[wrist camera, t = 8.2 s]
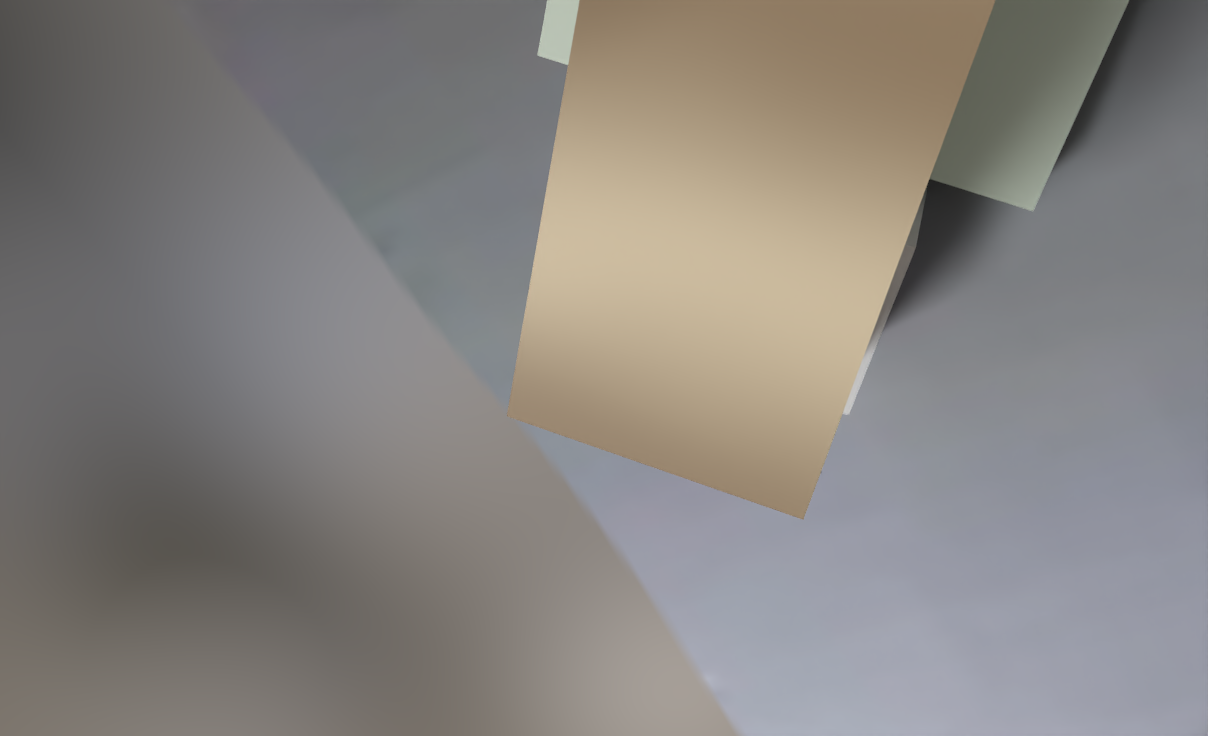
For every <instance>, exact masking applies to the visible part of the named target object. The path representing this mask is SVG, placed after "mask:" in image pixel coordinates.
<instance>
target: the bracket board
mask: <svg viewBox="0 0 1208 736" xmlns="http://www.w3.org/2000/svg"><path fill="white" fill-rule="evenodd" d="M579 1H580V0H547V5H546V11H545V16H544V22H543V28H542V33H541V39H540V44H539V50H538V56H541V57H544V58H547V59H550V60H554V61H557V62H560V63H563V64H566V65H568V63H569V58H570V52H571V46H572V41H573V35H574V29H575V23H576V18H577V12H578V6H579ZM1128 2H1129V0H995V3H994V6H993V8H992V11H991V14H990V17H989V19H988V22H987V25H986V27H985V30H984V33H983V35H982V38H981V41H980V44H979V46H978V49H977V52H976V54H975V57H974V60H973V62H972V65H971V68H970V71H969V73H968V76H967V79H966V81H965V84H964V87H963V89H962V92H961V95H960V98H959V100H958V103H957V106H956V108H955V111H954V114H953V116H952V119H951V122H950V125H949V127H948V130H947V133H946V135H945V138H944V141H943V143H942V146H941V149H940V152H939V154H938V157H937V160H936V162H935V165H934V168H933V170H932V173H931V176H930V179H932V180H935V181H938V182H941V183H944V184H948V185H951V186H954V187H957V188H960V189H963V190H967V191H970V192H973V193H976V194H979V195H983V196H986V197H989V198H992V199H995V200H998V201H1002V202H1005V203H1008V204H1011V205H1014V206H1017V207H1021V208H1024V209H1027V210H1030V211H1033V210H1034V208H1035V206H1036V204H1037V202H1038V199H1039V197H1040V195H1041V193H1042V191H1043V188H1044V186H1045V184H1046V182H1047V180H1048V178H1049V175H1050V173H1051V171H1052V169H1053V167H1054V164H1055V162H1056V160H1057V158H1058V156H1059V153H1060V151H1061V149H1062V147H1063V145H1064V142H1065V140H1066V138H1067V136H1068V134H1069V131H1070V129H1071V127H1072V125H1073V123H1074V121H1075V118H1076V116H1077V114H1078V112H1079V110H1080V107H1081V105H1082V103H1083V101H1084V99H1085V96H1086V94H1087V92H1088V90H1089V88H1090V85H1091V83H1092V81H1093V79H1094V77H1095V74H1096V72H1097V70H1098V68H1099V66H1100V64H1101V61H1102V59H1103V57H1104V55H1105V53H1106V50H1107V48H1108V46H1109V44H1110V42H1111V39H1112V37H1113V35H1114V33H1115V31H1116V28H1117V26H1118V24H1119V22H1120V20H1121V17H1122V15H1123V13H1124V11H1125V9H1126V7H1127V4H1128ZM926 193H927V187H926V189H925V192H924V195H923V197H922V200H921V203H920V206H919V208H918V211H917V214H916V216H915V219H914V222H913V224H912V227H911V230H910V233H909V235H908V238H907V241H906V243H905V246H904V249H903V251H902V254H901V257H900V260H899V262H898V265H897V268H896V270H895V273H894V276H893V278H892V281H891V284H890V287H889V289H888V292H887V295H886V297H885V300H884V303H883V305H882V308H881V311H880V314H879V316H878V319H877V322H876V324H875V327H874V330H873V332H872V335H871V338H870V341H869V343H868V346H867V349H866V351H865V354H864V357H863V359H862V362H861V365H860V368H859V370H858V373H857V376H856V378H855V381H854V384H853V386H852V389H851V392H850V395H849V397H848V400H847V403H846V405H845V408H844V411H843V413H844V414H847V415H849V413H850V410H851V408H852V405H853V403H854V400H855V398H856V396H857V393H858V391H859V388H860V386H861V383H862V381H863V378H864V376H865V373H866V371H867V368H868V366H869V363H870V361H871V358H872V356H873V353H874V351H875V348H876V346H877V343H878V341H879V338H880V336H881V333H882V331H883V328H884V326H885V323H886V321H887V318H888V316H889V313H890V311H891V308H892V306H893V303H894V301H895V298H896V296H897V293H898V291H899V289H900V286H901V284H902V281H903V279H904V276H905V274H906V271H907V269H908V266H909V264H910V261H911V259H912V256H913V254H914V251H915V249H916V245H917V239H918V234H919V229H920V224H921V219H922V214H923V208H924V203H925V198H926Z"/></svg>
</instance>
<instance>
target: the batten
mask: <svg viewBox="0 0 1208 736" xmlns="http://www.w3.org/2000/svg"><path fill="white" fill-rule="evenodd" d="M994 3H995V0H580V1H579V6H578V12H577V18H576V23H575V29H574V35H573V41H572V46H571V52H570V58H569V63H568V69H567V75H566V81H565V86H564V92H563V98H562V104H561V109H560V115H559V121H558V126H557V132H556V138H555V144H554V149H553V155H552V161H551V166H550V172H549V178H548V184H547V189H546V195H545V201H544V206H543V212H542V218H541V224H540V229H539V235H538V241H537V247H536V252H535V258H534V264H533V269H532V275H531V281H530V287H529V292H528V298H527V304H526V309H525V315H524V321H523V327H522V332H521V338H520V344H519V349H518V355H517V361H516V367H515V372H514V378H513V384H512V390H511V395H510V401H509V407H508V412H507V416H508V417H511V418H513V419H516V420H519V421H522V422H525V423H528V424H531V425H534V426H536V427H539V428H542V429H545V430H548V431H551V432H554V433H556V434H559V435H562V436H565V437H568V438H571V439H574V440H577V441H579V442H582V443H585V444H588V445H591V446H594V447H597V448H599V449H602V450H605V451H608V452H611V453H614V454H617V455H620V456H622V457H625V458H628V459H631V460H634V461H637V462H640V463H643V464H645V465H648V466H651V467H654V468H657V469H660V470H663V471H665V472H668V473H671V474H674V475H677V476H680V477H683V478H686V479H688V480H691V481H694V482H697V483H700V484H703V485H706V486H708V487H711V488H714V489H717V490H720V491H723V492H726V493H729V494H731V495H734V496H737V497H740V498H743V499H746V500H749V501H752V502H754V503H757V504H760V505H763V506H766V507H769V508H772V509H774V510H777V511H780V512H783V513H786V514H789V515H792V516H795V517H797V518H800V519H804V516H805V513H806V511H807V508H808V505H809V503H810V500H811V497H812V494H813V492H814V489H815V486H816V484H817V481H818V478H819V476H820V473H821V470H822V467H823V465H824V462H825V459H826V457H827V454H828V451H829V449H830V446H831V443H832V440H833V438H834V435H835V432H836V430H837V427H838V424H839V422H840V419H841V416H842V413H843V411H844V408H845V405H846V403H847V400H848V397H849V395H850V392H851V389H852V386H853V384H854V381H855V378H856V376H857V373H858V370H859V368H860V365H861V362H862V359H863V357H864V354H865V351H866V349H867V346H868V343H869V341H870V338H871V335H872V332H873V330H874V327H875V324H876V322H877V319H878V316H879V314H880V311H881V308H882V305H883V303H884V300H885V297H886V295H887V292H888V289H889V287H890V284H891V281H892V278H893V276H894V273H895V270H896V268H897V265H898V262H899V260H900V257H901V254H902V251H903V249H904V246H905V243H906V241H907V238H908V235H909V233H910V230H911V227H912V224H913V222H914V219H915V216H916V214H917V211H918V208H919V206H920V203H921V200H922V197H923V195H924V192H925V189H926V187H927V184H928V181H929V179H930V176H931V173H932V170H933V168H934V165H935V162H936V160H937V157H938V154H939V152H940V149H941V146H942V143H943V141H944V138H945V135H946V133H947V130H948V127H949V125H950V122H951V119H952V116H953V114H954V111H955V108H956V106H957V103H958V100H959V98H960V95H961V92H962V89H963V87H964V84H965V81H966V79H967V76H968V73H969V71H970V68H971V65H972V62H973V60H974V57H975V54H976V52H977V49H978V46H979V44H980V41H981V38H982V35H983V33H984V30H985V27H986V25H987V22H988V19H989V17H990V14H991V11H992V8H993V6H994Z"/></svg>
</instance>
